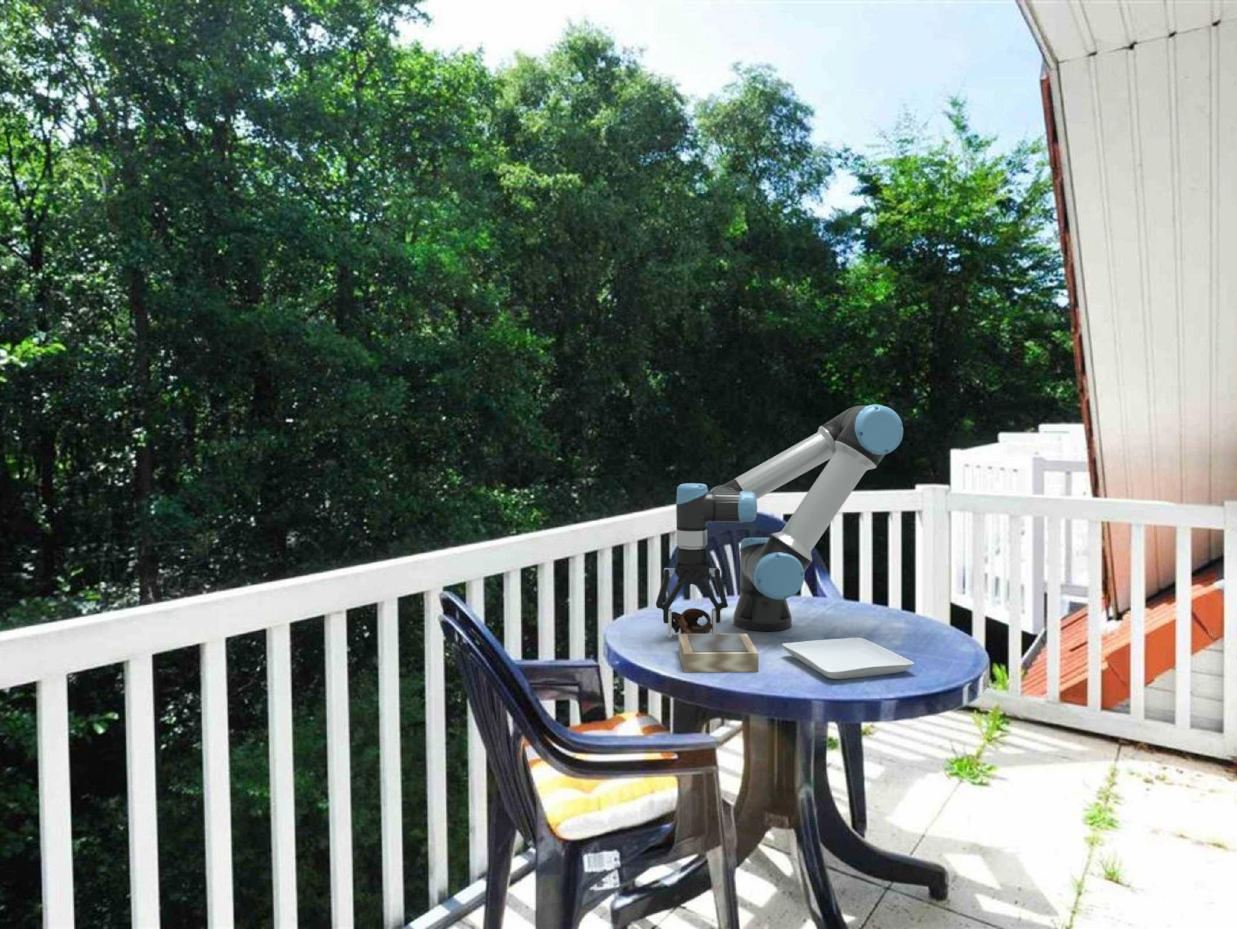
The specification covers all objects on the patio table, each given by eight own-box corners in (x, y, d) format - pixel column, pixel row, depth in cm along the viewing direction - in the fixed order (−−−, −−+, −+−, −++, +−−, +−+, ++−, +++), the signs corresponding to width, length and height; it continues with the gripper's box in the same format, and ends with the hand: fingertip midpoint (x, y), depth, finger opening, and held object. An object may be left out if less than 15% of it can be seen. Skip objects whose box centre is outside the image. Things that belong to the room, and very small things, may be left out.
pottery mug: (714, 635, 210) (718, 611, 206) (702, 660, 203) (707, 636, 199) (669, 619, 214) (673, 596, 209) (656, 643, 207) (660, 620, 202)
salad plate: (917, 677, 176) (917, 661, 176) (828, 687, 170) (828, 670, 170) (860, 650, 197) (861, 635, 197) (779, 657, 191) (779, 643, 190)
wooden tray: (746, 650, 195) (746, 632, 195) (758, 671, 179) (758, 652, 179) (678, 650, 195) (678, 633, 195) (684, 671, 179) (684, 652, 179)
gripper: (735, 543, 208) (735, 631, 209) (644, 544, 208) (644, 632, 209) (740, 548, 200) (740, 639, 202) (645, 549, 200) (646, 640, 201)
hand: (691, 635), depth 205 cm, fingers closed on pottery mug, 10 cm apart
